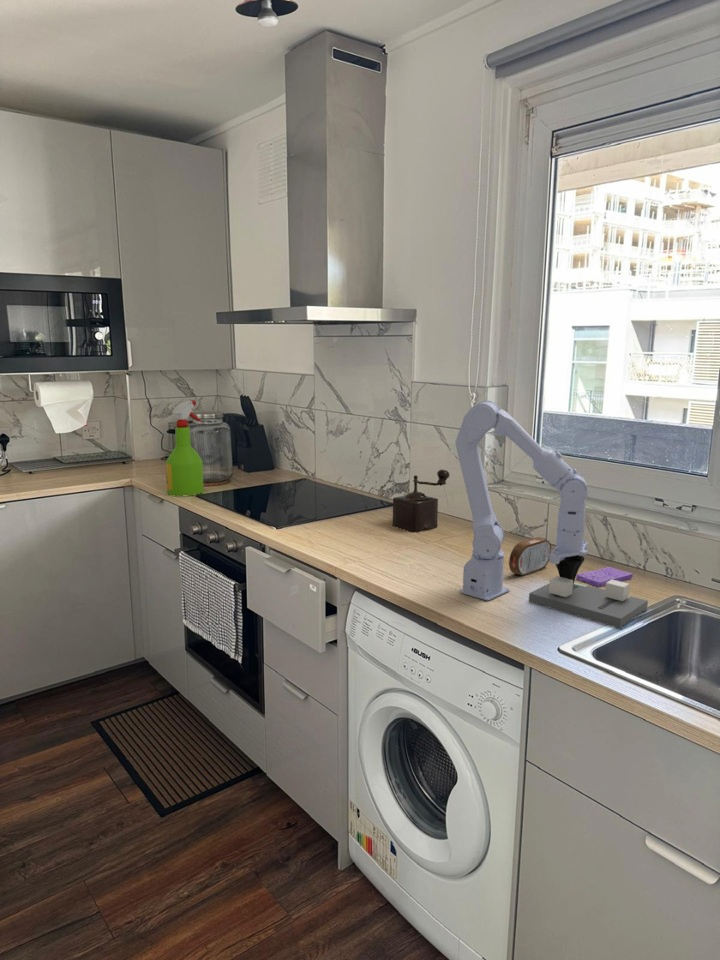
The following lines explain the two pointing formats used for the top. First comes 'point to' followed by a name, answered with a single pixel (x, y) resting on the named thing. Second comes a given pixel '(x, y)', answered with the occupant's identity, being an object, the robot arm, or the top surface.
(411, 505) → the manual coffee grinder
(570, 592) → the off-white cube
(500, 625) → the top surface
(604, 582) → the sponges
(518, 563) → the tin
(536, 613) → the top surface
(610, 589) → the block
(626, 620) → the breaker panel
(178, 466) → the spray bottle
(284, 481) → the top surface
